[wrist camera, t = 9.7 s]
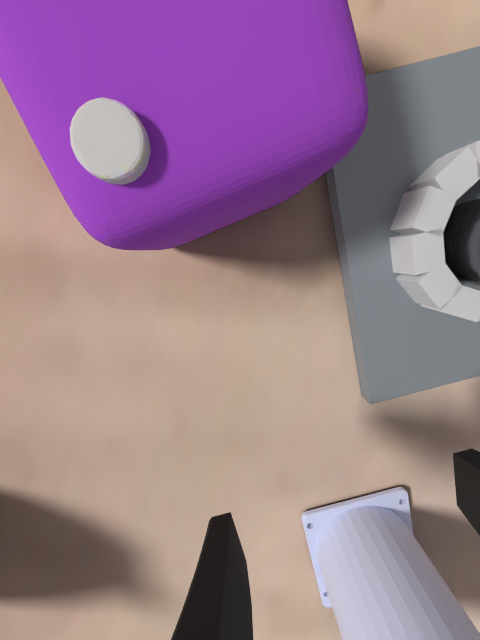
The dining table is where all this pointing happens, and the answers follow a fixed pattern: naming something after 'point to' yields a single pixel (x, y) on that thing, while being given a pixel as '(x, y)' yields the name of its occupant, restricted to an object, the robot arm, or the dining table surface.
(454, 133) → the mount board
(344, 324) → the dining table surface
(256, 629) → the dining table surface
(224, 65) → the toy camera
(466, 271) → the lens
